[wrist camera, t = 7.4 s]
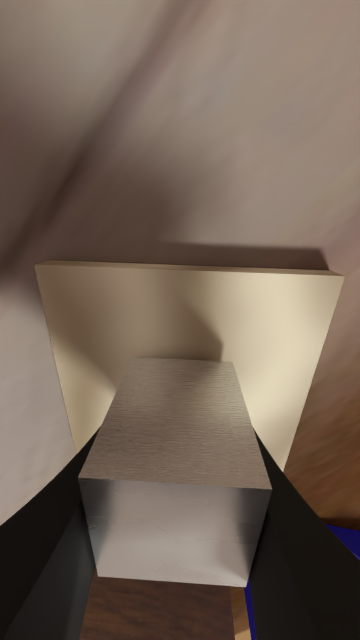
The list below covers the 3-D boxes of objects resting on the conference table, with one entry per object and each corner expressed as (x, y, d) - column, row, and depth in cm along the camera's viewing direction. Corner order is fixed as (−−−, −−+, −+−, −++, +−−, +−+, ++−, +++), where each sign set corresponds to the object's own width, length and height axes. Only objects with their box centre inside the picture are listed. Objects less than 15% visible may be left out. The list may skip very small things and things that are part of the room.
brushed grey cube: (136, 431, 13) (98, 576, 8) (131, 357, 12) (78, 477, 6) (222, 436, 13) (246, 587, 8) (232, 361, 11) (272, 488, 6)
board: (85, 450, 17) (78, 466, 16) (48, 260, 12) (33, 264, 11) (274, 461, 17) (280, 478, 16) (330, 270, 11) (345, 276, 10)
